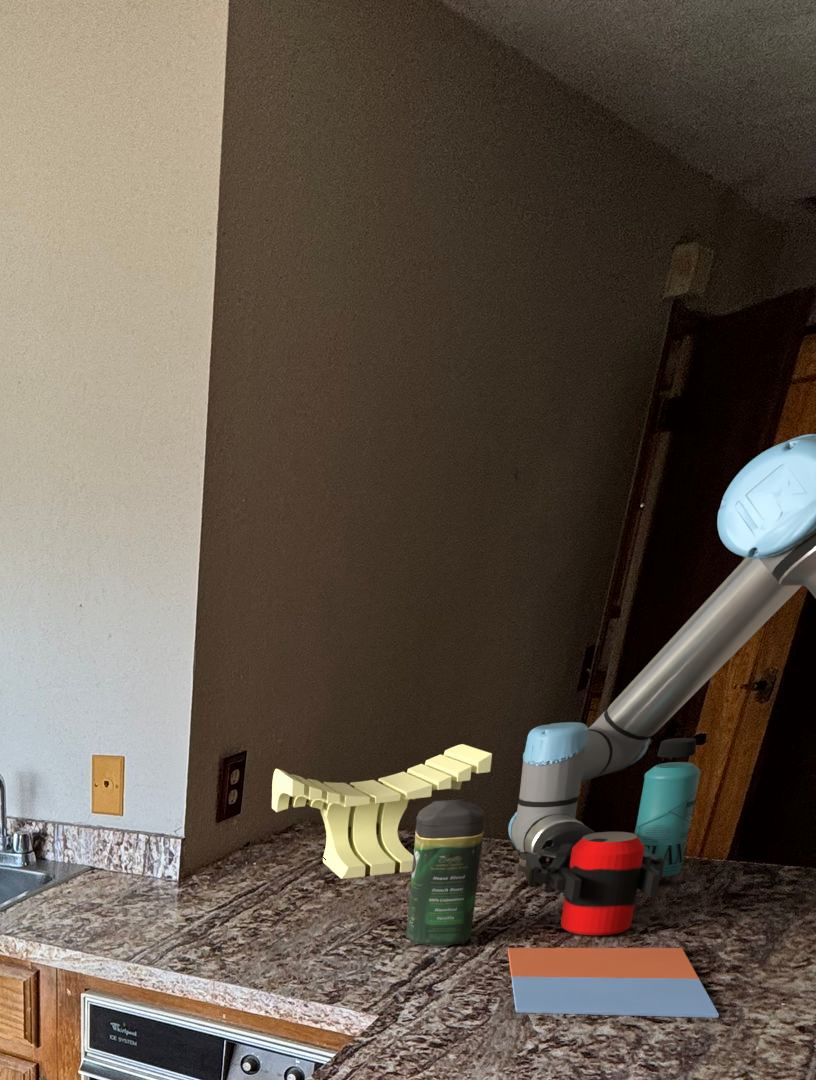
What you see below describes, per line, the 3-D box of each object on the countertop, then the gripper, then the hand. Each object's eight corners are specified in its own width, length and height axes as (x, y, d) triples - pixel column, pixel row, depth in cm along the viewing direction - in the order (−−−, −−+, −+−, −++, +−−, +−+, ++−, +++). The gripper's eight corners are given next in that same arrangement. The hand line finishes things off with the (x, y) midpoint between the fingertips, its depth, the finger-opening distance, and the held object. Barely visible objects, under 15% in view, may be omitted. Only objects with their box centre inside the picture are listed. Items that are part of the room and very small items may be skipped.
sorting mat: (681, 950, 122) (682, 947, 121) (718, 1018, 105) (719, 1014, 105) (507, 950, 130) (508, 947, 130) (515, 1012, 113) (516, 1009, 113)
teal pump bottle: (623, 887, 145) (649, 745, 136) (624, 875, 150) (648, 737, 141) (681, 887, 141) (710, 741, 133) (680, 875, 146) (708, 733, 137)
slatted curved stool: (445, 843, 180) (455, 741, 172) (479, 864, 166) (492, 753, 158) (270, 863, 186) (272, 765, 179) (289, 884, 172) (292, 779, 165)
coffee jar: (474, 948, 133) (490, 807, 125) (407, 949, 136) (419, 812, 128) (467, 926, 141) (482, 792, 133) (404, 928, 144) (415, 798, 136)
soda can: (547, 929, 134) (559, 840, 129) (584, 915, 136) (598, 827, 131) (605, 939, 127) (621, 846, 122) (644, 925, 130) (661, 833, 125)
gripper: (642, 866, 142) (709, 911, 123) (478, 878, 149) (517, 922, 130) (651, 813, 139) (721, 851, 120) (484, 827, 146) (524, 865, 127)
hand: (615, 888), depth 125 cm, fingers closed on soda can, 7 cm apart
